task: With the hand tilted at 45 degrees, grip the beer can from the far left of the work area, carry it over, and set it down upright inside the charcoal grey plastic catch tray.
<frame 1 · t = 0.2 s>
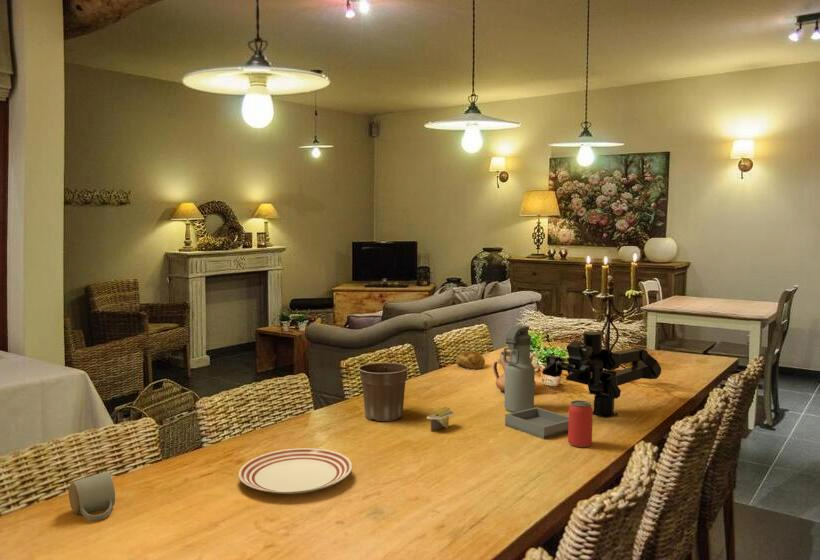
hand: (554, 375, 208), 17 cm above the table, tool horizontal, fingers open, 9 cm apart
beer can: (579, 445, 195), on the table
water bottle: (518, 410, 230), on the table
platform: (441, 430, 209), on the table
dinner plate: (296, 480, 169), on the table
bread roll: (470, 367, 294), on the table
plant pot: (383, 417, 222), on the table
catch tray: (540, 427, 210), on the table
ceramic mug: (95, 512, 150), on the table
ceramic jug: (514, 391, 254), on the table
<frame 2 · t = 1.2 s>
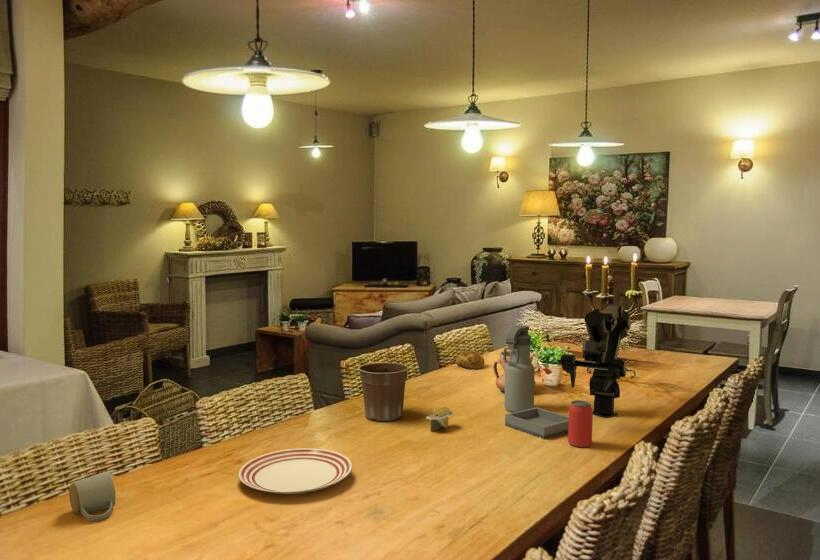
hand: (588, 388, 202), 14 cm above the table, tool tilted 45°, fingers open, 9 cm apart
nothing on the table moved.
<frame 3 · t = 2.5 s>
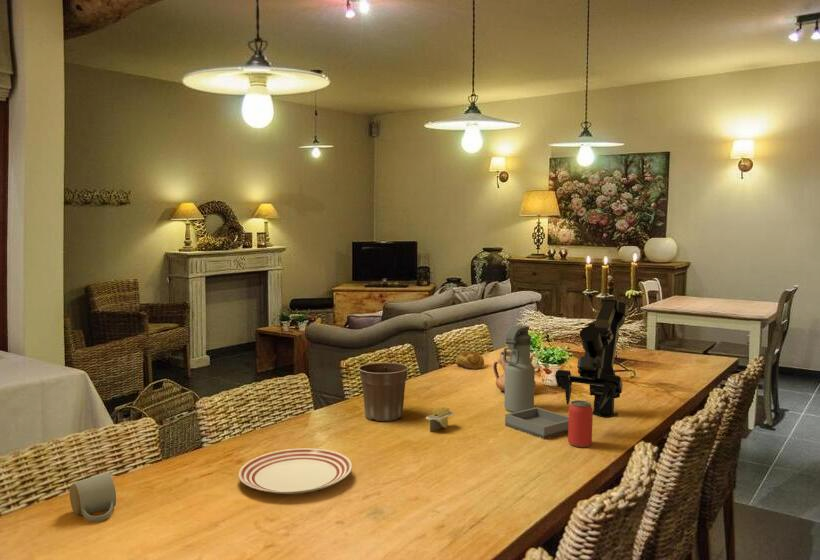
hand: (583, 406, 197), 10 cm above the table, tool tilted 45°, fingers open, 9 cm apart
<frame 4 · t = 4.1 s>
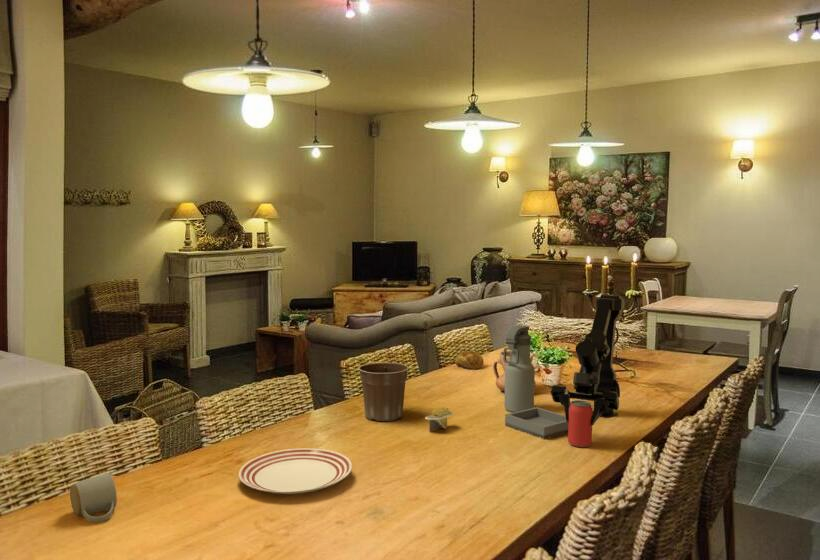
hand: (579, 422, 193), 7 cm above the table, tool tilted 45°, fingers closed on beer can, 7 cm apart
beer can: (579, 444, 195), on the table, touching gripper
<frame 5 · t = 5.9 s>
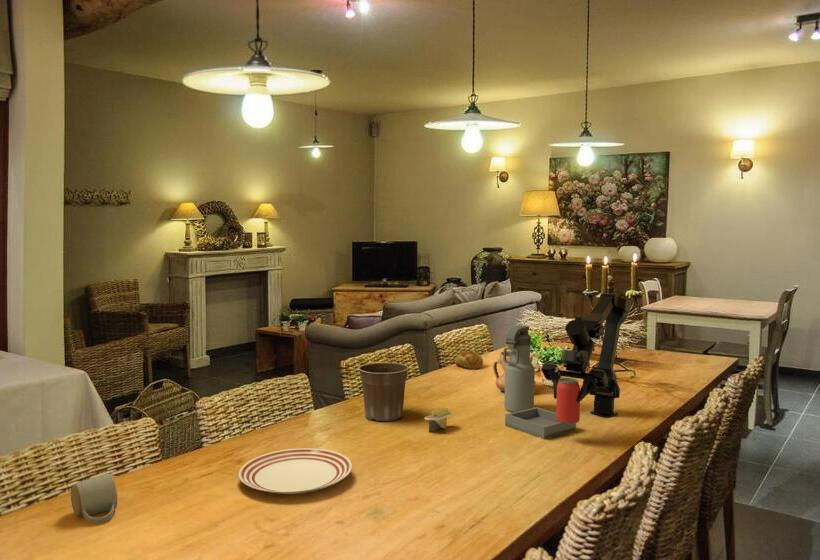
hand: (566, 399, 196), 12 cm above the table, tool tilted 45°, fingers closed on beer can, 7 cm apart
beer can: (567, 421, 198), point 5 cm above the table, touching gripper
when the fingers open (9 cm above the table, at t = 8.1 s): beer can drops 1 cm, resting on catch tray.
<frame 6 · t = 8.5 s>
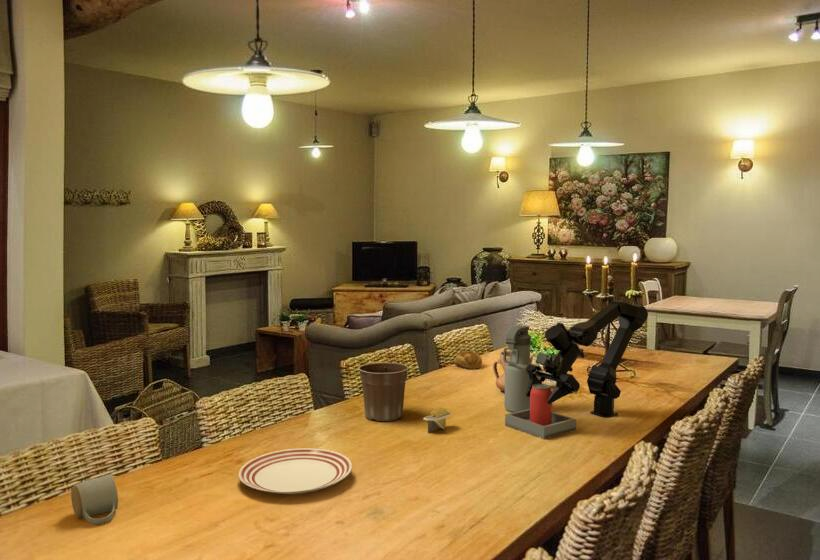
hand: (537, 399, 208), 9 cm above the table, tool tilted 45°, fingers open, 9 cm apart
beer can: (540, 425, 210), point 1 cm above the table, touching catch tray
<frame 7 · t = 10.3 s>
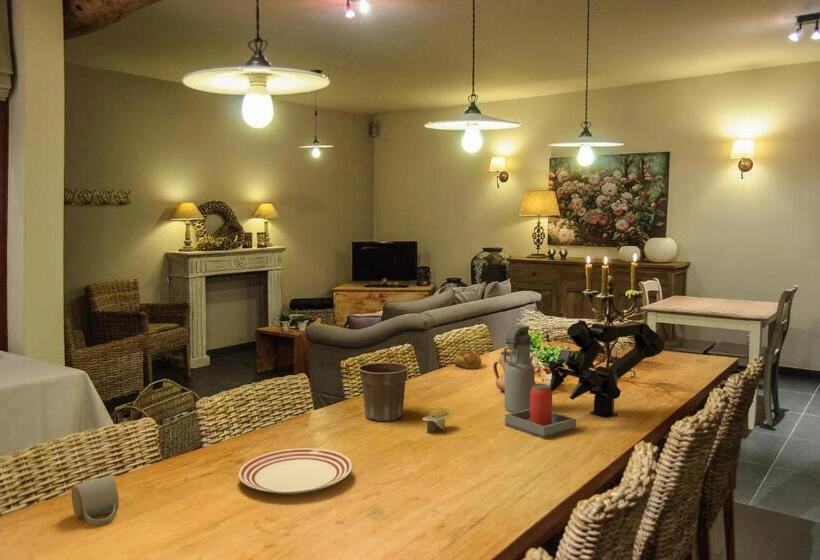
hand: (560, 395, 213), 9 cm above the table, tool tilted 45°, fingers open, 9 cm apart
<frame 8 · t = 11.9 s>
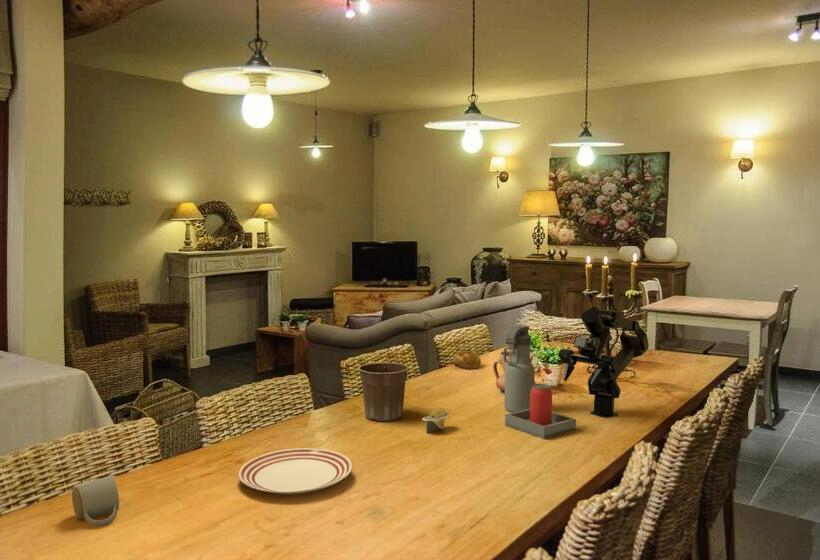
hand: (577, 382, 211), 14 cm above the table, tool tilted 45°, fingers open, 9 cm apart
at the end: beer can inside the target area on the catch tray (0.2 cm from its centre), point 0.8 cm above the catch tray's base; beer can tilted 0°; the gripper is holding nothing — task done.
